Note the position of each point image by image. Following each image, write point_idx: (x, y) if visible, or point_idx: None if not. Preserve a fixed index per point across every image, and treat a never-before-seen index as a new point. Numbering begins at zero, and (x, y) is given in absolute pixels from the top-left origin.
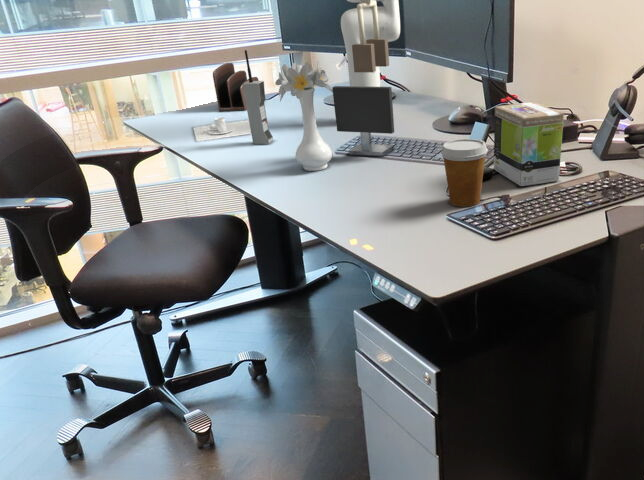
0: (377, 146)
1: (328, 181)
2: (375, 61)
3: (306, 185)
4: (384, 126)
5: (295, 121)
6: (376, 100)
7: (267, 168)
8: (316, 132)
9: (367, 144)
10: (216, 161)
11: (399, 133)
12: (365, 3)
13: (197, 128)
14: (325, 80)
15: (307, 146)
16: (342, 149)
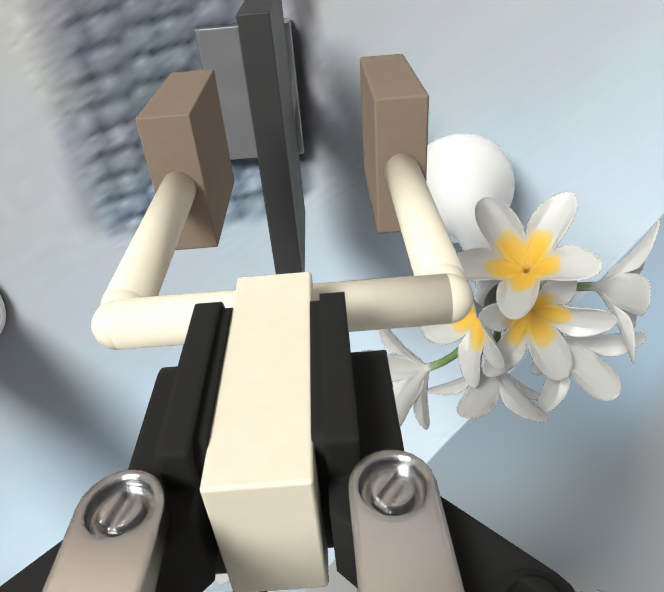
0: (230, 81)
1: (572, 58)
2: (222, 147)
3: (611, 103)
4: (282, 22)
5: (68, 458)
6: (281, 76)
7: (472, 290)
8: (478, 199)
9: (292, 89)
10: (437, 419)
11: (5, 117)
12: (348, 302)
13: (223, 576)
14: (474, 257)
15: (504, 198)
16: (255, 201)
